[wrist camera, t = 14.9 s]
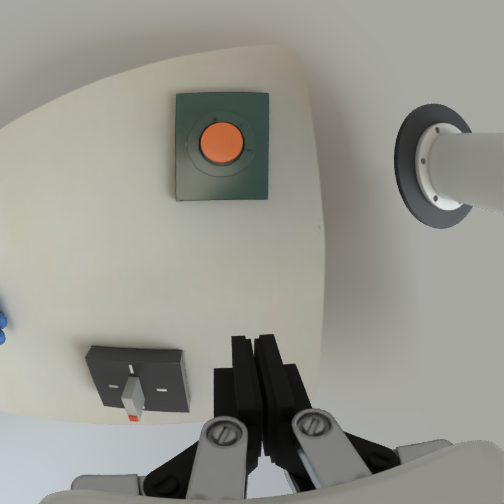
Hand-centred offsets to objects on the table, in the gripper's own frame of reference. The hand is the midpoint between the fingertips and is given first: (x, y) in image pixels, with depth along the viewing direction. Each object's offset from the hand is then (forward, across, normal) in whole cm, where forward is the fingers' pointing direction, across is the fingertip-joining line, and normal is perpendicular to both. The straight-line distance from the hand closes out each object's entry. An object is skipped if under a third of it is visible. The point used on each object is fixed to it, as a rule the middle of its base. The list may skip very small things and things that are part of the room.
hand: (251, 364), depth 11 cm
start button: (+21, +1, -10) cm, 23 cm away
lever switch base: (+23, +14, +21) cm, 34 cm away
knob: (+20, +14, +21) cm, 32 cm away
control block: (+23, +1, -10) cm, 25 cm away
